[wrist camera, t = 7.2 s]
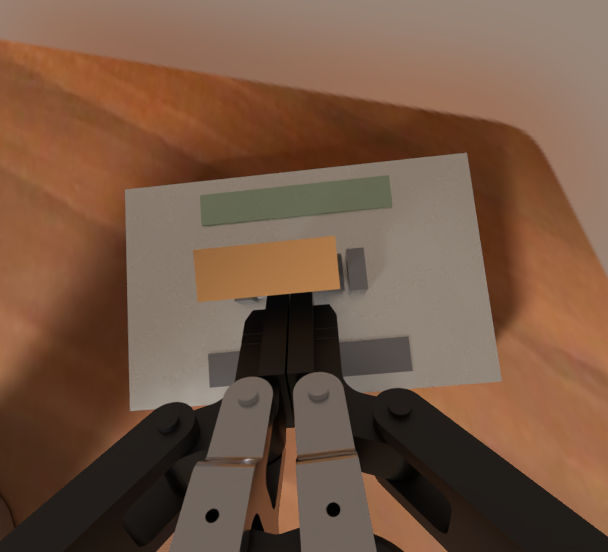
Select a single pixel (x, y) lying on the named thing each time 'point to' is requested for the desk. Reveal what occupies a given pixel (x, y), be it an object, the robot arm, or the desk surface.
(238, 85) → the desk surface
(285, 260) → the breaker lever
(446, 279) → the breaker box
